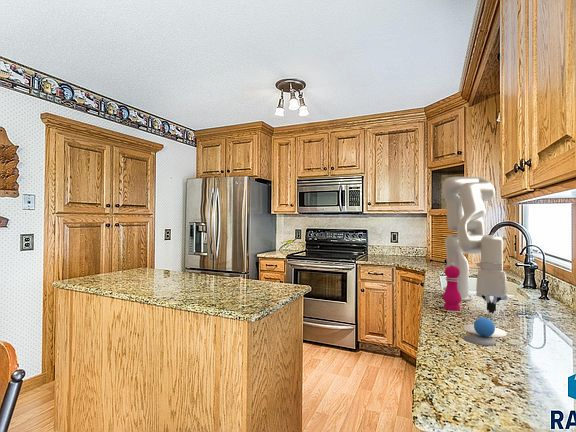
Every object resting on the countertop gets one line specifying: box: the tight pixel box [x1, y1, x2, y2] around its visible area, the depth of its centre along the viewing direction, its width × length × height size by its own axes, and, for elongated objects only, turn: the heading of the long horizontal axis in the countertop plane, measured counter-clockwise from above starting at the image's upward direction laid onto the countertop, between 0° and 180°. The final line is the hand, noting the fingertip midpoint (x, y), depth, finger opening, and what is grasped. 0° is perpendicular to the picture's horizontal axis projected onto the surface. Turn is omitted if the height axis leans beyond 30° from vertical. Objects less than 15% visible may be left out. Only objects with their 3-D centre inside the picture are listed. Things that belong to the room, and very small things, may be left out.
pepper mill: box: [442, 263, 462, 312], centre depth 142 cm, size 7×7×20 cm
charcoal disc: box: [463, 334, 497, 347], centre depth 104 cm, size 9×9×1 cm
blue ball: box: [473, 317, 496, 338], centre depth 108 cm, size 6×6×6 cm
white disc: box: [462, 323, 508, 338], centre depth 113 cm, size 13×13×1 cm
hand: (491, 312), depth 131 cm, fingers closed
